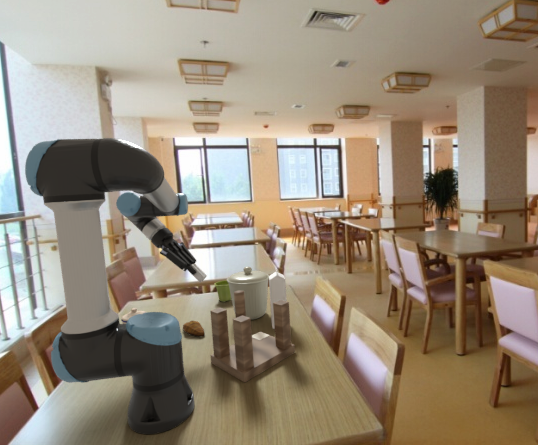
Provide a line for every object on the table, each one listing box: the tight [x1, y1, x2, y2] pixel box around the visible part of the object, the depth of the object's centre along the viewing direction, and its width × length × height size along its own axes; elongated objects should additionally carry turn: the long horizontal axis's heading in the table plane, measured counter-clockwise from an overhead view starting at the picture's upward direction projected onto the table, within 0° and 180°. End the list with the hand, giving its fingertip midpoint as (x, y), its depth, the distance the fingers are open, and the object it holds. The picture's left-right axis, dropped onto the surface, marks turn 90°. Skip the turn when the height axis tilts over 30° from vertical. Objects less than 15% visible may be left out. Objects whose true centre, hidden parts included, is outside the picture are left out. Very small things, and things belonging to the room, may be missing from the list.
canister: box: [226, 266, 270, 321], centre depth 133 cm, size 18×18×21 cm
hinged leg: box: [234, 291, 246, 318], centre depth 106 cm, size 11×4×15 cm, turn 5°
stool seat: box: [210, 300, 296, 383], centre depth 98 cm, size 21×16×16 cm
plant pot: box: [214, 279, 232, 303], centre depth 157 cm, size 9×9×9 cm
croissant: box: [182, 320, 205, 338], centre depth 120 cm, size 14×7×5 cm, turn 45°
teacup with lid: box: [120, 307, 147, 324], centre depth 118 cm, size 12×9×12 cm
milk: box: [268, 268, 288, 330], centre depth 121 cm, size 6×6×22 cm
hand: (203, 279), depth 112 cm, fingers closed
